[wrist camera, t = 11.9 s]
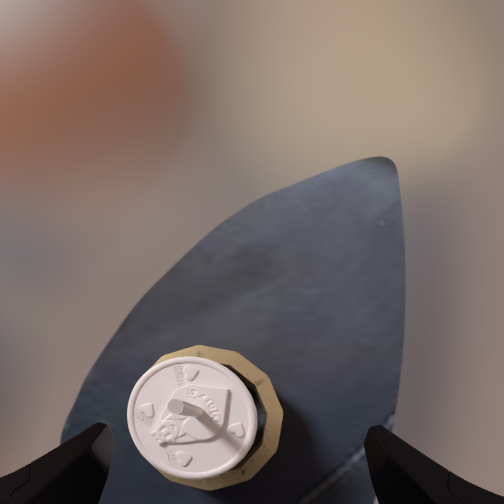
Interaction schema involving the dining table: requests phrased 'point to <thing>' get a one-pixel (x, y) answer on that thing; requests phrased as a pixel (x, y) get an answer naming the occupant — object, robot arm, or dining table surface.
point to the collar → (268, 404)
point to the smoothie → (192, 417)
